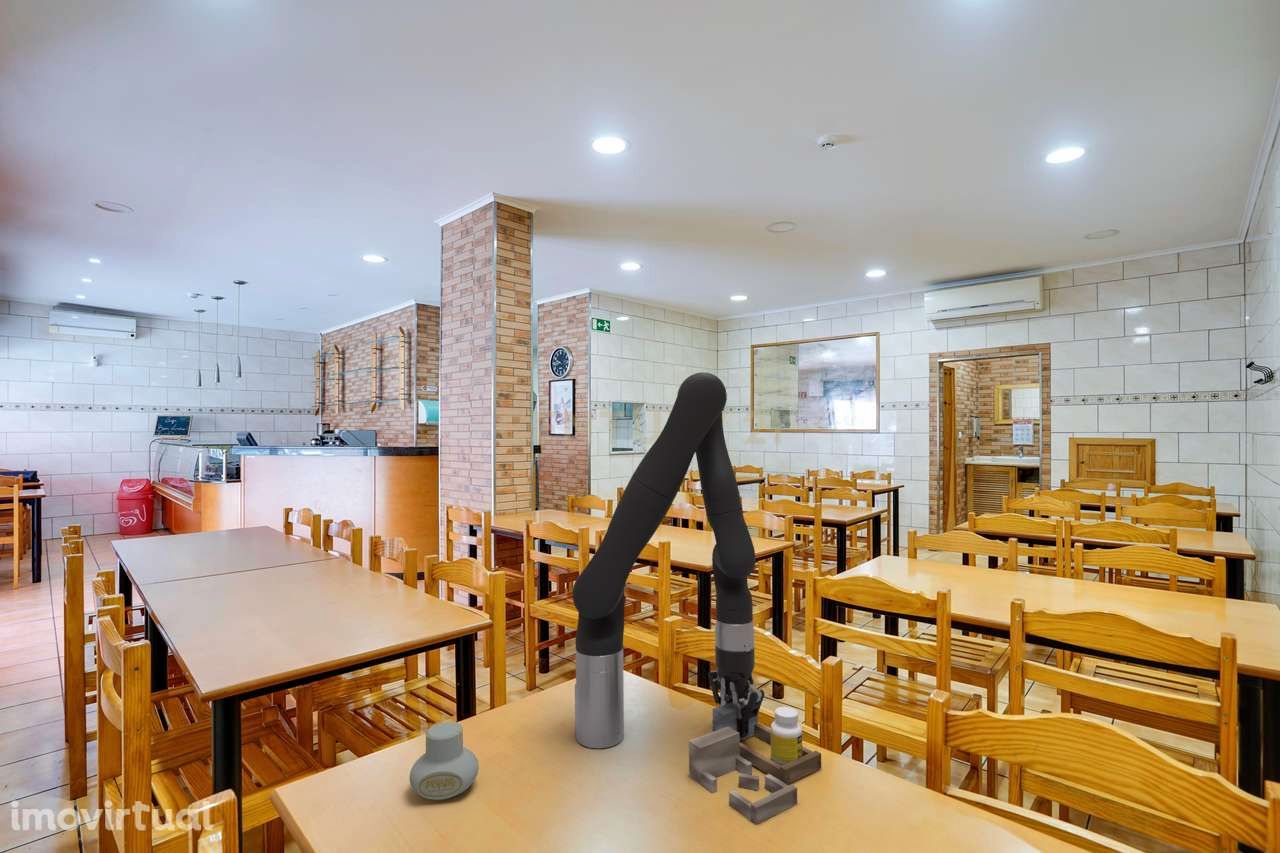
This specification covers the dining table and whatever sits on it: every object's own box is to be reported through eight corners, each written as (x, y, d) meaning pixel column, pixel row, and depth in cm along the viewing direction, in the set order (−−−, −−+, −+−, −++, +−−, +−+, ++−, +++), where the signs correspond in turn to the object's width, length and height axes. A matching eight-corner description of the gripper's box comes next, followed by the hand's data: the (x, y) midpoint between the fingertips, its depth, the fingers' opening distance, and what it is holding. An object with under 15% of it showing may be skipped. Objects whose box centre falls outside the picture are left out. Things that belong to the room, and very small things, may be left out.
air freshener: (404, 807, 97) (404, 744, 97) (415, 778, 105) (415, 720, 106) (475, 801, 99) (475, 738, 99) (481, 773, 107) (480, 715, 107)
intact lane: (712, 740, 117) (712, 708, 117) (747, 727, 122) (746, 696, 122) (785, 785, 102) (785, 748, 102) (821, 767, 107) (820, 733, 107)
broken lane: (689, 776, 105) (688, 740, 105) (728, 759, 110) (727, 726, 110) (756, 824, 92) (756, 784, 92) (797, 803, 97) (796, 765, 97)
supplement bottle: (803, 778, 104) (802, 720, 105) (770, 774, 106) (770, 717, 106) (801, 761, 110) (801, 706, 110) (770, 758, 111) (770, 703, 111)
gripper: (696, 636, 122) (697, 724, 122) (746, 657, 110) (747, 754, 110) (724, 629, 126) (725, 714, 126) (775, 649, 115) (776, 742, 114)
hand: (735, 732), depth 118 cm, fingers closed on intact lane, 3 cm apart
